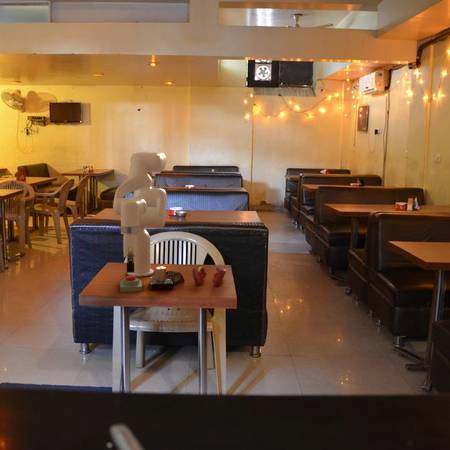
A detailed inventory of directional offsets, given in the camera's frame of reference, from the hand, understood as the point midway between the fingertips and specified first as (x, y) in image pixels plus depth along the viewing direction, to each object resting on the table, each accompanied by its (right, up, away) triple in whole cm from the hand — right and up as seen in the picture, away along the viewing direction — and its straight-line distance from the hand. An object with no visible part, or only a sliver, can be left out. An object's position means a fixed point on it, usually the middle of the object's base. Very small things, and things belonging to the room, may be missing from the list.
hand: (130, 271), depth 220 cm
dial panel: (+12, -7, +5) cm, 15 cm away
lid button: (0, -4, +1) cm, 4 cm away
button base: (0, -7, +2) cm, 7 cm away
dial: (+12, -4, +5) cm, 14 cm away
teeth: (+33, -6, +12) cm, 36 cm away
